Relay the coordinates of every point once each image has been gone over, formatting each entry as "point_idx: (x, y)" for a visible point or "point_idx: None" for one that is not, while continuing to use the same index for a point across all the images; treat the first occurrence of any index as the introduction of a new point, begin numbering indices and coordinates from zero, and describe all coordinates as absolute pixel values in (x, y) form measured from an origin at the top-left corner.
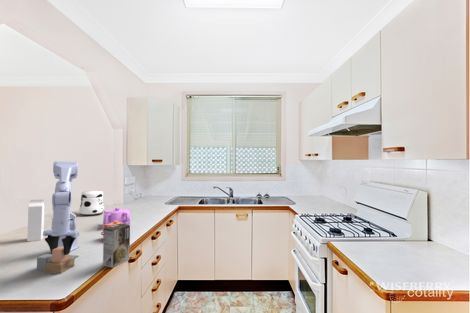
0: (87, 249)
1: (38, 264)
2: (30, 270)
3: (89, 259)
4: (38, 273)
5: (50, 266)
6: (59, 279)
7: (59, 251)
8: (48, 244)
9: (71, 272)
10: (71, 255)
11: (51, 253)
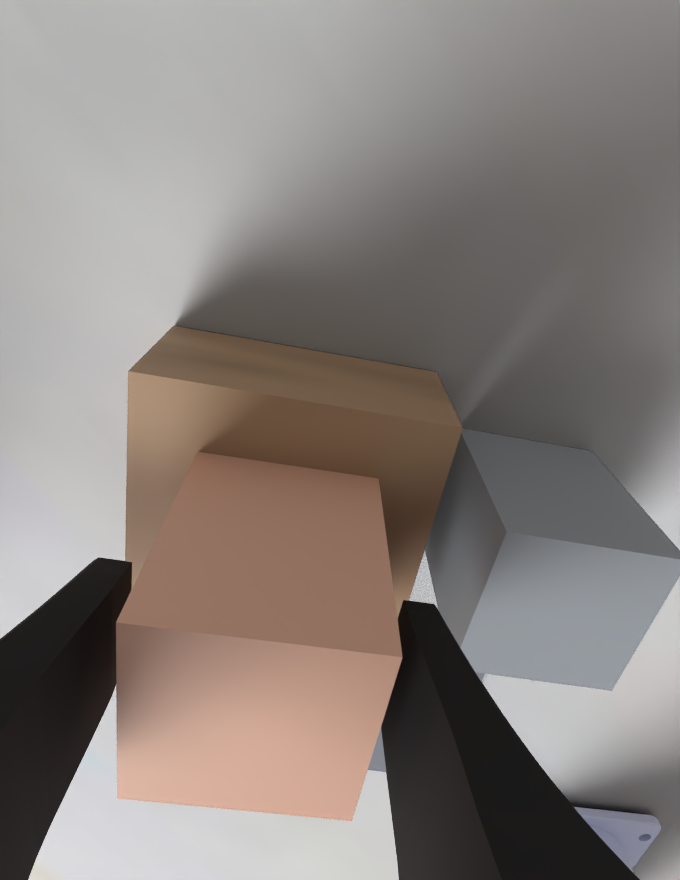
0: (309, 873)
1: (601, 486)
2: (666, 436)
3: None
4: (507, 341)
5: (350, 389)
6: (38, 108)
7: (186, 603)
8: (574, 825)
9: (46, 355)
10: (377, 765)
11: (436, 615)
